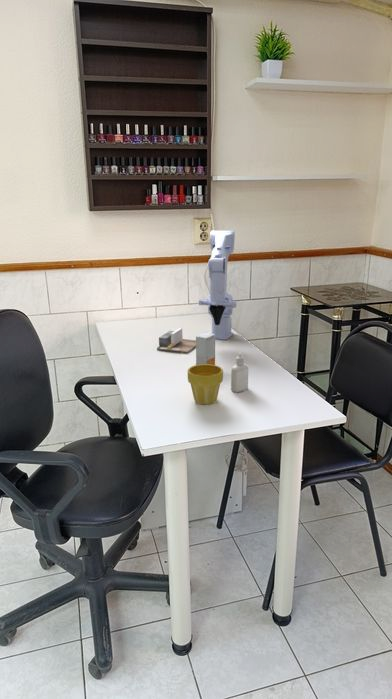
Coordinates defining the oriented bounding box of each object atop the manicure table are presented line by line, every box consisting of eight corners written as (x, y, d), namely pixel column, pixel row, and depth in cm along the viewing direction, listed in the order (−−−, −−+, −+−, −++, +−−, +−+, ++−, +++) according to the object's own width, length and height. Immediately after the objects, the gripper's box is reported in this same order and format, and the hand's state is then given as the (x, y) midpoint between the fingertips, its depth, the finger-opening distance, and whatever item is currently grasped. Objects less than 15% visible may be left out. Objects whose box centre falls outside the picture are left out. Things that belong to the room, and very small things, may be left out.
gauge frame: (172, 339, 204) (172, 329, 202) (201, 343, 199) (201, 332, 198) (156, 350, 191) (155, 339, 190) (186, 354, 186) (186, 343, 185)
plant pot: (202, 390, 154) (202, 361, 151) (229, 398, 148) (230, 368, 145) (181, 401, 147) (180, 370, 144) (208, 410, 140) (208, 379, 137)
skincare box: (205, 371, 169) (205, 338, 165) (195, 369, 172) (195, 336, 168) (215, 366, 174) (215, 333, 170) (206, 364, 176) (205, 331, 172)
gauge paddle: (179, 339, 199) (179, 328, 197) (182, 339, 199) (182, 328, 197) (167, 348, 189) (166, 336, 188) (170, 348, 189) (169, 336, 187)
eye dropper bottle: (250, 391, 153) (250, 355, 149) (232, 393, 152) (232, 356, 148) (246, 386, 157) (247, 350, 153) (229, 387, 156) (229, 351, 152)
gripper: (195, 290, 185) (196, 325, 190) (232, 293, 180) (231, 329, 184) (202, 286, 191) (203, 320, 196) (238, 289, 186) (237, 324, 190)
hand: (217, 324), depth 190 cm, fingers closed
